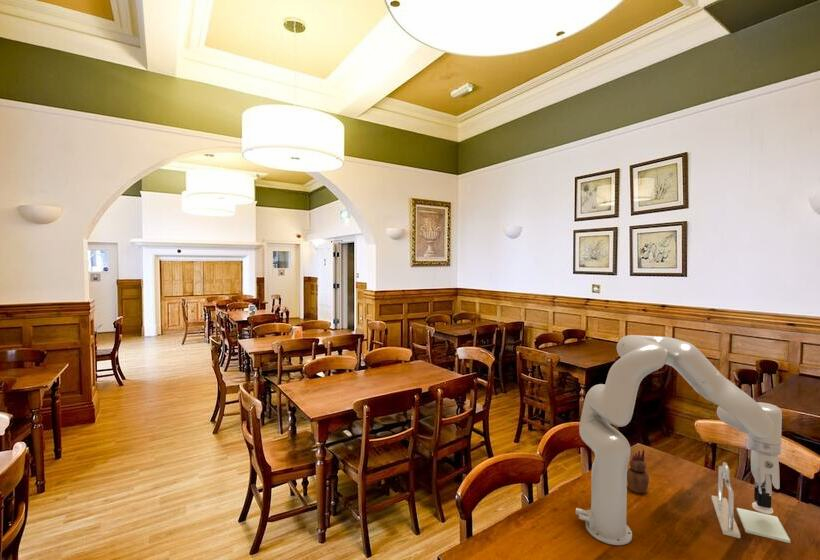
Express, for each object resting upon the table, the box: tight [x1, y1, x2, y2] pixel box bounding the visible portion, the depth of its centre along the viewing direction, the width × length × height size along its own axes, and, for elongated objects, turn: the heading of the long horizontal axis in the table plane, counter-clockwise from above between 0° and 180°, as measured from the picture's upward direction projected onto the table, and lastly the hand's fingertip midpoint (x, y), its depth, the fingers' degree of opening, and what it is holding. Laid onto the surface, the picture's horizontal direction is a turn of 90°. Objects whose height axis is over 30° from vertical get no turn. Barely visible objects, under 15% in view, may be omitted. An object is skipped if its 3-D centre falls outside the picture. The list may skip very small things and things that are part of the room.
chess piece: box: [751, 483, 774, 515], centre depth 123 cm, size 5×5×10 cm
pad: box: [736, 507, 791, 544], centre depth 123 cm, size 10×12×1 cm
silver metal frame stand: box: [711, 461, 741, 539], centre depth 127 cm, size 4×20×17 cm, turn 151°
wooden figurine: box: [627, 449, 650, 494], centre depth 142 cm, size 7×6×15 cm
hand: (762, 503), depth 123 cm, fingers closed on chess piece
